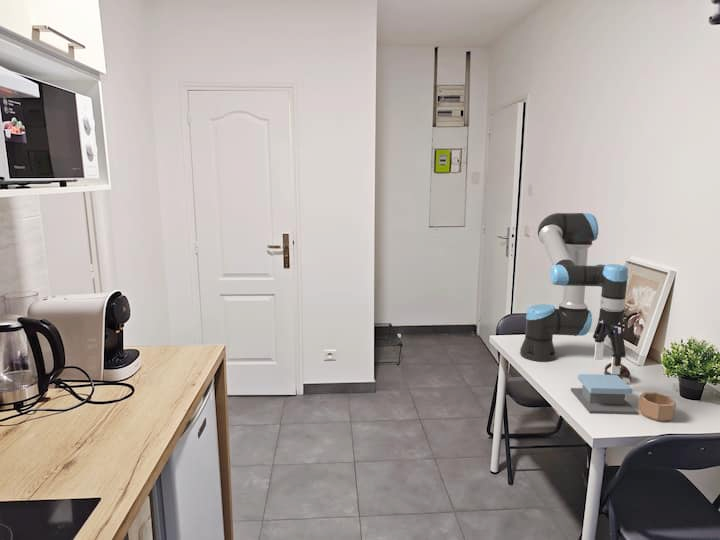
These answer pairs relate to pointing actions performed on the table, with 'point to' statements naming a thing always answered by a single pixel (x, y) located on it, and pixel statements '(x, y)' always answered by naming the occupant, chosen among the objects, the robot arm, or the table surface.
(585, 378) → the cover sheet
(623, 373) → the brown openwork dome
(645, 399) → the brown octagonal bowl
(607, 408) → the grey stepped plinth
